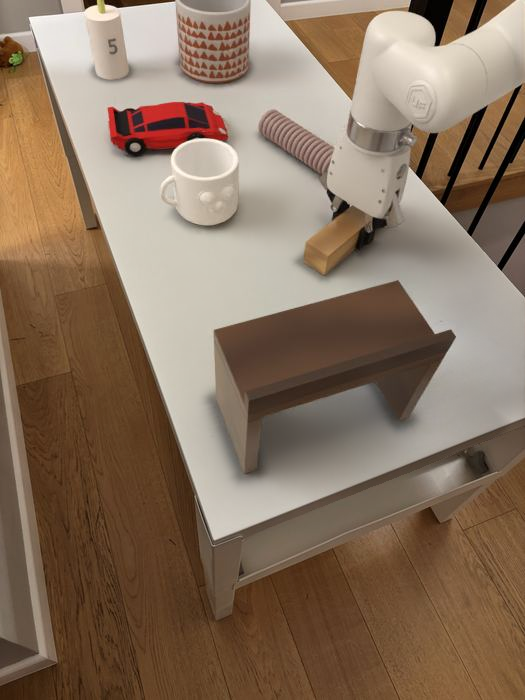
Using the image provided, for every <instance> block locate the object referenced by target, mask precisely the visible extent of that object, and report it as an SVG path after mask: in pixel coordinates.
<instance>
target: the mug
mask: <svg viewBox="0 0 525 700" xmlns="http://www.w3.org/2000/svg"><path fill="white" fill-rule="evenodd" d="M170 168H171V175H169V176H168V177H166V178H165V179H164V180H163V182H162V183H161V184H160V186H159V197H160V198H161V200H162V202H164V203H165V204H167V205H170V206H175V208H176V211H177V212H178V214H179V215H180V216H181V217H182V218H183V219H185V221H188V222H189V223H192V224H194V225H200V226H215V225H219V224H222V223H224V222H226V221H228V220H229V219H230V218H232V217H233V216H234V214H235V213H236V211H237V210H238V206H239V189H240V188H239V187H240V185H239V184H240V183H239V182H240V158H239V154H238V152H237V151H236V149H234V147H233V146H231V145H230V144H229V143H227V142H225V141H223V140H222V141H219V140H215V139H207V138H202V139H194V140H190V141H187V142H185V143H183V144H181V145H179V146H178V147H175V148H174V149H173V151H172V153H171V156H170ZM171 183H172V188H173V197H174V198H173V199H172V198H169V197H168V196H167V194H166V190H167V188H168V186H169V185H170V184H171Z"/></svg>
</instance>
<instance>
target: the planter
mask: <svg viewBox="0 0 525 700" xmlns="http://www.w3.org/2000/svg"><path fill="white" fill-rule="evenodd" d="M174 1H175V16H176V28H177V29H176V30H177V43H178V44H177V45H178V56H179V66H180V69H181V71H182V72H183V73H184V74H185V75H186V76H187V77H189V78H191V79H193V80H195V81H198V82H201V83H206V84H226V83H231V82H234V81H237V80H239V79H241V78H242V77H243V76H244V75H245V74H246V73H247V72H248V69H249V66H250V65H249V63H250V36H251V35H250V34H251V33H250V32H251V1H252V0H174Z"/></svg>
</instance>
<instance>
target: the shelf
mask: <svg viewBox="0 0 525 700" xmlns="http://www.w3.org/2000/svg"><path fill="white" fill-rule="evenodd" d="M456 338H457V335H456V334H455V332H454V331H453V330H452V329H451V328H450V329H447V330H444V331H440V332H437V333H435V332H434V330H433V329H432V327H431V325H430V324H429V322H428V321H427V320H426V319H425V317H424V315H423V314H422V312H421V311H420V309H419V308H418V306H417V305H416V304H415V303H414V300H413V299H412V298H411V296H410V294H409V293H408V292H407V290H406V289H405V288H404V286H403V284H402V283H401V282H400V281H399V279H397V280H394V281H390V282H386V283H383V284H379V285H375V286H371V287H367V288H364V289H359V290H357V291H353V292H349V293H346V294H342V295H338V296H333V297H330V298H327V299H323V300H320V301H316V302H312V303H308V304H304V305H301V306H297V307H294V308H290V309H286V310H283V311H278V312H274V313H271V314H267V315H264V316H259V317H256V318H252V319H248V320H245V321H241V322H238V323H233V324H230V325H226V326H223V327H219V328H216V329H213V354H214V355H213V356H214V378H215V380H214V381H215V401H216V404H217V406H218V408H219V411H220V414H221V416H222V420H223V421H224V424H225V427H226V430H227V432H228V435H229V437H230V440H231V442H232V446H233V448H234V452H235V453H236V456H237V459H238V462H239V464H240V467H241V470H242V472H243V474H244V475H246V474H248V473H251V472H254V471H257V468H258V460H259V453H260V452H259V450H260V442H261V433H262V425H263V418H264V417H268V416H271V415H274V414H277V413H281V412H283V411H284V412H285V411H287V410H290V409H293V408H296V407H299V406H303V405H305V404H309V403H312V402H316V401H318V400H322V399H324V398H327V397H331V396H333V395H337V394H340V393H343V392H347V391H350V390H353V389H356V388H358V387H361V386H362V387H363V386H365V385H369V384H371V383H375V384H376V386H377V387H378V389H379V391H380V393H381V395H382V397H383V398H384V399H385V402H386V403H387V405H388V407H389V408H390V410H391V412H392V413H393V415H394V417H395V419H396V420H397V422H400V421H402V420H403V421H404V420H406V419H409V418H410V416H411V415H412V413H413V411H414V410H415V408H416V406H417V404H418V403H419V401H420V399H421V398H422V396H423V394H424V392H425V391H426V389H427V387H428V386H429V384H430V382H431V380H432V379H433V377H434V376H435V374H436V372H437V370H438V369H439V367H440V366H441V364H442V362H443V361H444V359H445V357H446V355H447V354H448V352H449V350H450V349H451V347H452V345H453V343H454V342H455V340H456Z"/></svg>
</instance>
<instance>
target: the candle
mask: <svg viewBox="0 0 525 700" xmlns="http://www.w3.org/2000/svg"><path fill="white" fill-rule="evenodd" d="M83 15H84V22H85V25H86V30H87V36H88V40H89V45H90V51H91V56H92V60H93V65H94V70H95V74H96V75H97V76H98V77H99V78H101V79H103V80H110V81H111V80H112V81H114V80H120V79H123V78H125V77H126V76H127V75H128V74H129V72H130V69H129V62H128V61H129V60H128V56H127V50H126V49H127V48H126V43H125V42H126V41H125V37H124V36H125V35H124V28H123V22H122V17H121V11H120V9H119V8H118V7H115V6H114V5H109V4H105V0H96V4H95V5H91V6H89V7H88V8H85V10H84V12H83Z"/></svg>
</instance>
